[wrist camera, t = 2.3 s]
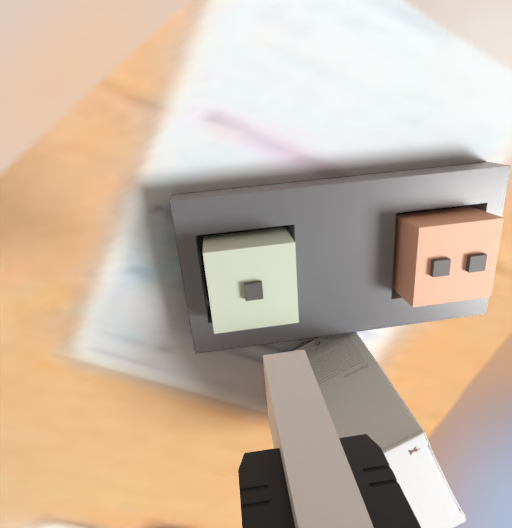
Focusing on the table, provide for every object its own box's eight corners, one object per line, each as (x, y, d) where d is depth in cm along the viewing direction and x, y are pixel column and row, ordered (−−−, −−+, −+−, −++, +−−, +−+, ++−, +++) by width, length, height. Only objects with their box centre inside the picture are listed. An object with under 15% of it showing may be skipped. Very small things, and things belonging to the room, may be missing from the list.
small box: (280, 354, 28) (319, 481, 18) (348, 318, 28) (425, 430, 18) (324, 424, 31) (377, 566, 21) (386, 393, 31) (469, 524, 21)
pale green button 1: (213, 309, 25) (214, 336, 22) (203, 236, 23) (202, 255, 20) (288, 299, 25) (300, 325, 22) (284, 227, 23) (296, 244, 20)
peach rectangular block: (390, 286, 26) (415, 309, 23) (394, 214, 24) (422, 229, 21) (460, 277, 26) (494, 299, 23) (470, 206, 24) (507, 219, 21)
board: (196, 337, 27) (195, 353, 25) (172, 194, 23) (169, 201, 21) (467, 300, 28) (486, 313, 26) (487, 161, 24) (510, 165, 23)
